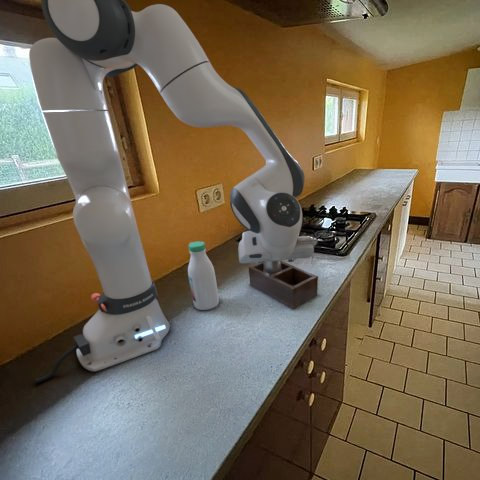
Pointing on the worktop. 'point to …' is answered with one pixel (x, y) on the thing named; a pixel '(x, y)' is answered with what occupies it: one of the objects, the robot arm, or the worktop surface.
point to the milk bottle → (202, 278)
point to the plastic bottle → (272, 267)
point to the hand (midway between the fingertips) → (274, 260)
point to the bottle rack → (285, 284)
